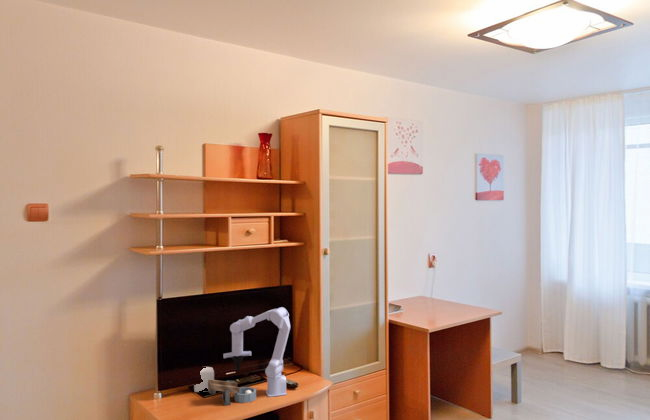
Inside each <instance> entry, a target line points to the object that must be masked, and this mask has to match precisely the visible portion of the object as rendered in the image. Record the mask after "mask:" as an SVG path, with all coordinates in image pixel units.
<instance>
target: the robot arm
mask: <svg viewBox="0 0 650 420" xmlns="http://www.w3.org/2000/svg"><path fill="white" fill-rule="evenodd" d="M289 317H290V314H289V312H288V310H287V309H286V308H285V307H283V306H281V307H278V308H273V309H270V310H267V311H265V312H262V313H261V314H258V315H256V316H251V315H250V316H249V315H247V316H245V317H244V318H243V319H238V320H237V321H236V322H235V321H234V322H233V323H232V324H230V326H229V331H230V332H231V352H226V353H223V354H222V355H223V359H227V358H232V360H233V362H234V365H235V371H238V372H239V371H240V367H241V364H242V361H244V357H248V356H249V357H250V356H251V357H252V351H251V350H244V331H247V330H249V329H251V328H254V327H255V326H256V323H259V322H262V321H264V320H267V321H270V322H272V323H273V324H274V325H275V326H277V328H278V334H277V336H276V342H275V345H274V350H273V353H272V356H271V359H270V361H269V363H268V365H267V367H266V368H265V370H264V372H265V376H267V381H266V382H267V390H265V393H266V395H267V397H269V398H270V397H277V396H279V397H280V396H286V395H287V377H286V376H285V375H283V374H282V372H283V371H284V360H283V358H284V353H285V351H286V346H287V342H288V338H289V334H290V331H291V322H290V318H289Z"/></svg>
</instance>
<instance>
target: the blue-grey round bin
mask: <svg viewBox="0 0 650 420" xmlns="http://www.w3.org/2000/svg"><path fill="white" fill-rule="evenodd" d="M247 390H250V391H251V392H252V393H249V394H245V392H246V391H247ZM233 399H234V401H235V403H239V404H241V403H242V404H246V403H251V402H254V401H255V400H257V389H256V387H252V386H241V387H240V389H239V393H233Z"/></svg>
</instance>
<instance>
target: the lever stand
mask: <svg viewBox="0 0 650 420" xmlns="http://www.w3.org/2000/svg"><path fill="white" fill-rule="evenodd" d="M230 398H231V392H230V389H225V392H224V391H222V395H221V399H222V402H223V405H224V406H231V405H232V402H231V399H230Z"/></svg>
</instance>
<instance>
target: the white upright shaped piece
mask: <svg viewBox="0 0 650 420" xmlns="http://www.w3.org/2000/svg"><path fill="white" fill-rule="evenodd" d="M205 367H206V368H203V369H202V370H201V371H200V375H201V379H202V380H203V382H201V383H200V384H196V385H194V384H193V390H194V393H200V392H199V391H202V390H204V389H205V388H207V389H208V380H209V379H210V380H215V370H214V368H213V367H212V366H205Z"/></svg>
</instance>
